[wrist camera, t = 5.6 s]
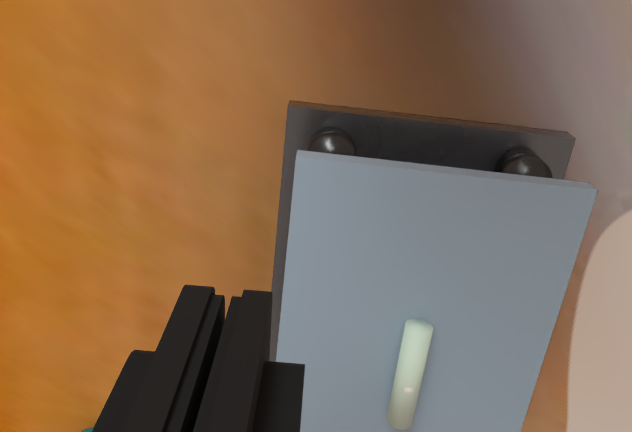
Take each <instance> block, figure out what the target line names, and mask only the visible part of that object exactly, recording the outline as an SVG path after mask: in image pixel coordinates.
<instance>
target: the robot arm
mask: <svg viewBox="0 0 632 432" xmlns="http://www.w3.org/2000/svg"><path fill="white" fill-rule="evenodd" d="M272 298H273V293H272V292H266V291H254V290H244V291H243V295H242V297H236V296H232V298H231V301H230V305H229V308H228V312H227V315H226V319H225V298H224V295H215V289H214V287H207V286H195V285H184V287H183V289H182V291H181V293H180V296H179V298H178V300H177V303H176V305H175V307H174V310H173V312H172V314H171V317H170V319H169V321H168V323H167V326H166V328H165V330H164V333H163V335H162V337H161V340H160V342H159V344H158V347H157V349H156V351H155V352H153V351H141V350H134V351H133V352H131V354H130V355H129V357H128V359H127V361H126V363H125V365H124V367H123V369H122V371H121V373H120V375H119V377H118V379H117V381H116V383H115V385H114V387H113V389H112V392H111V394H110V396H109V398H108V400H107V402H106V404H105V406H104V408H103V410H102V412H101V414H100V416H99V418H98V420H97V422H96V424H95V426H94V428H93V430H92V432H300V425H301V412H302V400H303V387H304V374H305V364H297V363H285V362H273V361H269V357H270V338H271V319H272Z"/></svg>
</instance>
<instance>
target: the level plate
mask: <svg viewBox="0 0 632 432" xmlns="http://www.w3.org/2000/svg"><path fill="white" fill-rule="evenodd" d="M597 193H598V190H597V189H596V188H595V187H594V186H592V185H591V184H590V183H588V182H579V181H570V180H561V179H553V178H544V177H535V176H526V175H517V174H508V173H499V172H490V171H481V170H472V169H463V168H454V167H445V166H437V165H428V164H419V163H410V162H401V161H392V160H383V159H374V158H365V157H356V156H347V155H338V154H330V153H321V152H312V151H303V150H297V154H296V161H295V172H294V182H293V192H292V202H291V212H290V223H289V233H288V243H287V253H286V263H285V274H284V284H283V294H282V304H281V314H280V325H279V335H278V345H277V355H276V362H285V363H297V364H305V374H304V387H303V400H302V412H301V425H300V432H521V428H522V425H523V422H524V419H525V416H526V413H527V410H528V407H529V404H530V401H531V397H532V394H533V391H534V388H535V385H536V382H537V379H538V376H539V373H540V369H541V366H542V363H543V360H544V357H545V354H546V351H547V348H548V345H549V342H550V338H551V335H552V332H553V329H554V326H555V323H556V320H557V317H558V314H559V311H560V307H561V304H562V301H563V298H564V295H565V292H566V289H567V286H568V283H569V279H570V276H571V273H572V270H573V267H574V264H575V261H576V258H577V255H578V252H579V248H580V245H581V242H582V239H583V236H584V233H585V230H586V227H587V224H588V220H589V217H590V214H591V211H592V208H593V205H594V202H595V199H596V196H597Z"/></svg>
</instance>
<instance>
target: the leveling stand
mask: <svg viewBox="0 0 632 432" xmlns="http://www.w3.org/2000/svg"><path fill="white" fill-rule="evenodd" d="M574 142H575V138H574V137H573V136H572V135H570V134H569V133H568V132H563V131H555V130H546V129H537V128H528V127H519V126H511V125H502V124H493V123H484V122H475V121H467V120H458V119H449V118H440V117H431V116H422V115H414V114H405V113H396V112H387V111H378V110H370V109H361V108H352V107H343V106H334V105H325V104H317V103H308V102H299V101H289V104H288V111H287V122H286V133H285V145H284V156H283V167H282V179H281V190H280V201H279V213H278V224H277V235H276V247H275V258H274V269H273V281H272V293H273V298H272V319H271V338H270V357H269V361H273V362H276V355H277V345H278V335H279V325H280V314H281V304H282V294H283V284H284V274H285V263H286V253H287V243H288V233H289V223H290V212H291V202H292V192H293V182H294V172H295V161H296V154H297V150H303V151H312V152H321V153H330V154H338V155H347V156H356V157H365V158H374V159H383V160H392V161H401V162H410V163H419V164H428V165H437V166H445V167H454V168H463V169H472V170H481V171H490V172H499V173H508V174H517V175H526V176H535V177H544V178H553V179H561V180H563V179H564V175H565V172H566V169H567V166H568V162H569V159H570V156H571V152H572V149H573V146H574Z"/></svg>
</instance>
